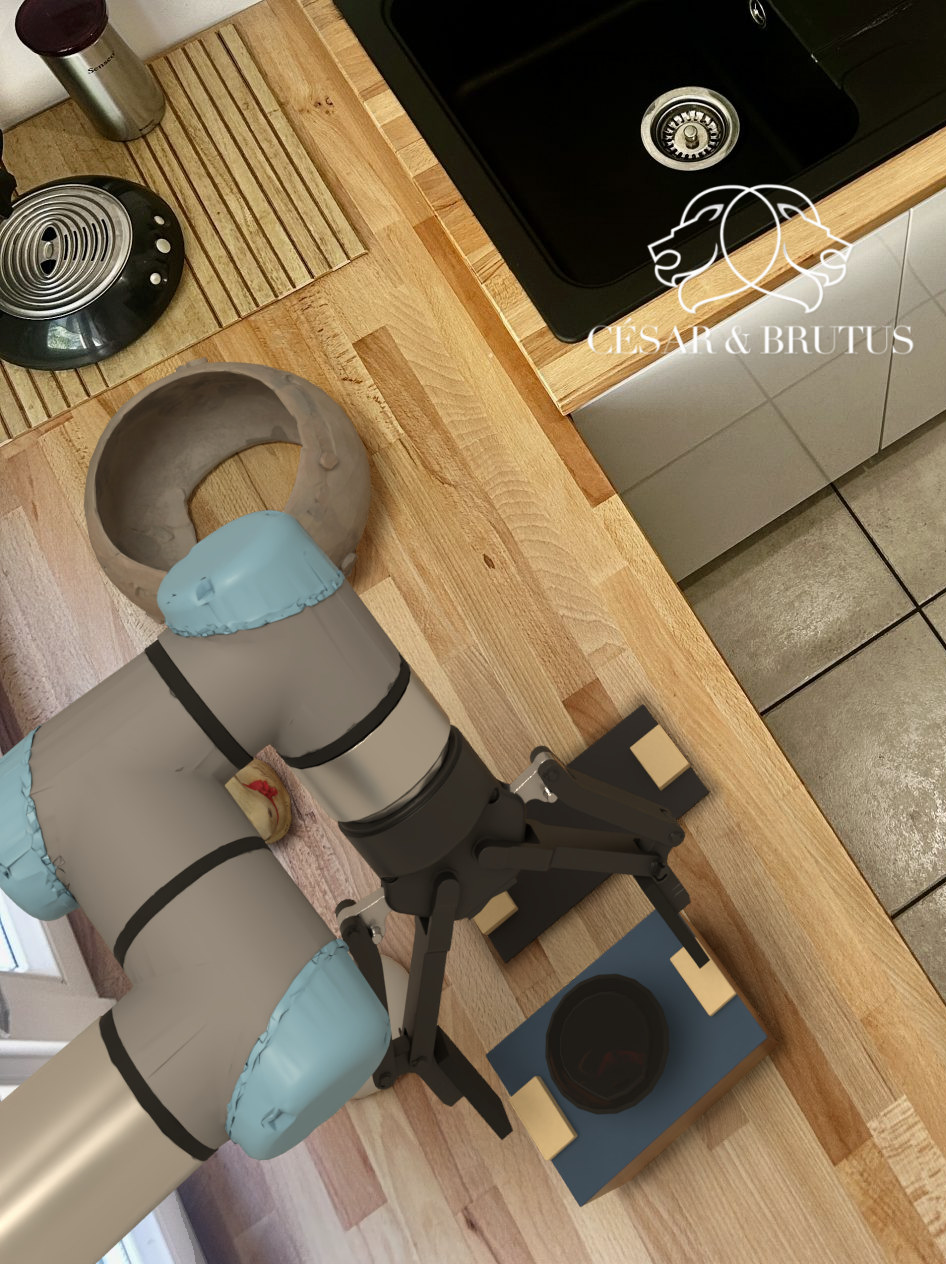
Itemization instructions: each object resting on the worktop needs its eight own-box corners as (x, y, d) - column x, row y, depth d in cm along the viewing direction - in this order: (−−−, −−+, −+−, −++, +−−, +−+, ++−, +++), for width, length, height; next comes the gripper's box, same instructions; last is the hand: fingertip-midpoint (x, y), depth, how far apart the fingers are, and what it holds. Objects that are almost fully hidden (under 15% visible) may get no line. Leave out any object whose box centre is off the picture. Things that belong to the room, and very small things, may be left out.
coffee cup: (549, 1021, 91) (519, 1015, 82) (649, 959, 92) (631, 946, 83) (599, 1136, 88) (574, 1143, 79) (703, 1070, 89) (689, 1069, 80)
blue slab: (581, 1207, 86) (576, 1209, 85) (486, 1055, 90) (479, 1054, 89) (768, 1037, 90) (766, 1036, 88) (668, 898, 94) (665, 895, 92)
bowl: (87, 516, 134) (6, 456, 121) (296, 358, 141) (241, 285, 127) (223, 708, 125) (152, 665, 112) (440, 530, 132) (397, 469, 119)
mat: (506, 963, 115) (501, 962, 113) (443, 866, 118) (437, 863, 116) (709, 792, 120) (707, 788, 118) (643, 704, 124) (640, 699, 122)
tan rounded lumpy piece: (228, 860, 119) (180, 843, 110) (228, 760, 123) (181, 736, 114) (296, 847, 119) (254, 829, 111) (294, 748, 123) (253, 723, 114)
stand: (630, 1181, 107) (581, 1207, 86) (551, 1058, 111) (486, 1055, 90) (779, 1044, 111) (768, 1037, 90) (698, 930, 115) (668, 898, 94)
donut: (434, 1081, 111) (419, 938, 116) (423, 1082, 108) (408, 935, 113) (301, 1113, 111) (292, 968, 115) (286, 1115, 107) (277, 966, 112)
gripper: (569, 596, 83) (747, 853, 91) (176, 895, 77) (401, 1147, 84) (612, 645, 77) (800, 919, 84) (185, 978, 70) (429, 1244, 77)
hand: (601, 1034), depth 84 cm, fingers open, 13 cm apart
